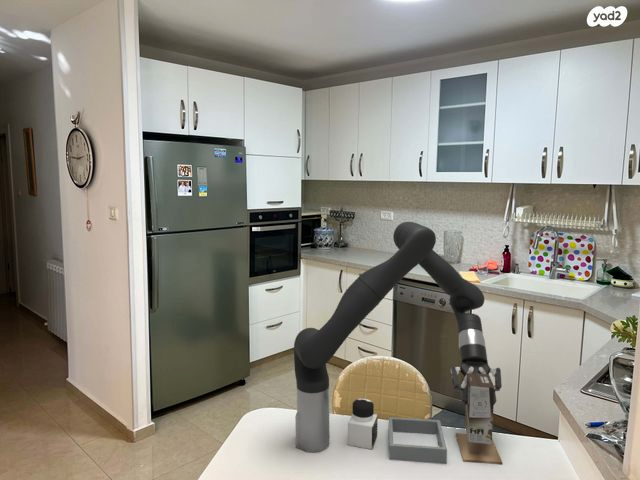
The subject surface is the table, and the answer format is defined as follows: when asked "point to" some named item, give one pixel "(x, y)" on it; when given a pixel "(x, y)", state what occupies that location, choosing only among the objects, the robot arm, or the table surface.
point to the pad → (477, 451)
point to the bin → (416, 451)
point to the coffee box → (479, 408)
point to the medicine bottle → (362, 424)
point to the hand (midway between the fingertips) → (479, 404)
